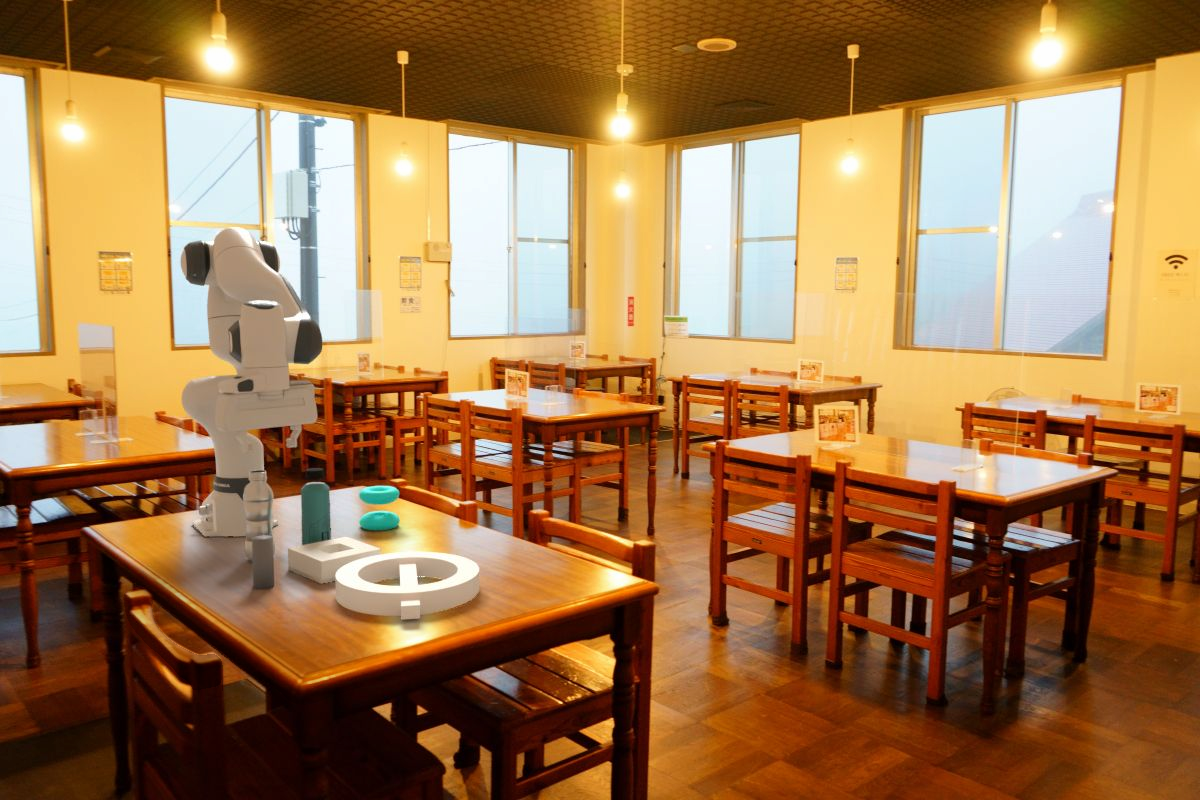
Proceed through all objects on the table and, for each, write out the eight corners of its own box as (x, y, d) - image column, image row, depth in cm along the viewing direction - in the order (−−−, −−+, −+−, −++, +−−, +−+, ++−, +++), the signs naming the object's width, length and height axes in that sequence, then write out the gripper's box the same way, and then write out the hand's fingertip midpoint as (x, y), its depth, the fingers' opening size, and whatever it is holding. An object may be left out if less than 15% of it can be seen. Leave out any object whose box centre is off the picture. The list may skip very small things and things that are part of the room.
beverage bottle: (322, 560, 203) (321, 472, 201) (295, 558, 204) (293, 470, 202) (337, 552, 209) (335, 466, 207) (310, 550, 211) (309, 465, 209)
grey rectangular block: (249, 586, 184) (248, 537, 183) (268, 581, 187) (267, 534, 186) (258, 590, 181) (257, 541, 180) (277, 586, 184) (276, 538, 183)
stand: (288, 569, 196) (287, 548, 195) (346, 557, 206) (346, 536, 205) (322, 584, 186) (321, 561, 185) (381, 570, 196) (380, 548, 196)
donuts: (406, 489, 232) (371, 494, 226) (406, 527, 233) (371, 533, 227) (387, 483, 240) (352, 487, 233) (387, 520, 241) (352, 526, 234)
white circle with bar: (411, 628, 163) (410, 602, 163) (305, 599, 178) (304, 576, 177) (507, 588, 187) (507, 565, 186) (406, 565, 201) (406, 544, 201)
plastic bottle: (246, 565, 198) (243, 475, 196) (242, 558, 204) (240, 469, 202) (277, 562, 201) (275, 473, 199) (272, 554, 207) (271, 467, 205)
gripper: (305, 378, 192) (309, 443, 193) (209, 384, 177) (213, 454, 178) (321, 378, 188) (324, 445, 189) (224, 385, 173) (228, 457, 174)
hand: (270, 450), depth 184 cm, fingers open, 8 cm apart
